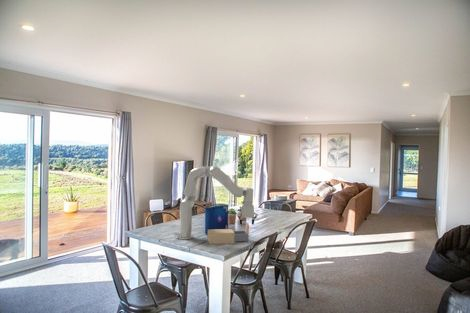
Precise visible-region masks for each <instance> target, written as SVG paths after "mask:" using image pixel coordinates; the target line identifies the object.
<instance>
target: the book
mask: <svg viewBox="0 0 470 313" xmlns="http://www.w3.org/2000/svg"><path fill="white" fill-rule="evenodd" d="M211 229H229V204H226V203H216V204H211V205H206V206H204V234H206V235H207V236H208V230H211Z"/></svg>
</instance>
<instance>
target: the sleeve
mask: <svg viewBox="0 0 470 313" xmlns="http://www.w3.org/2000/svg"><path fill="white" fill-rule="evenodd" d="M234 231H235V230H233V229H232V228H228V229H211V230H208V235H207V242H208V244H210V245H211V244H234V243H235V241H234V236H235V233H234Z"/></svg>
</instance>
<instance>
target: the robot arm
mask: <svg viewBox="0 0 470 313" xmlns="http://www.w3.org/2000/svg"><path fill="white" fill-rule="evenodd" d="M205 177H212V178H213V179H215V180H216V181H218V183H220V184H221V185H222V186H223V187H224V188H225V189H227V191H228V192H229V193H231V194H232V195H233V196H234V197H235V198H242V197H243V201H241V204H242V206H241V211H240V212H238V213H237V214H236V216H237V218H238V219H239V224H240V225H241V226H243V218H245V219H250V218H251V225H253V226H254V224H255V219H256V218H257V217H258V216H259V215H258V213H256V212H255V205H253V204H254V203H253V202H254V189H253V188H251V187H243V186H239V185H237V184H236V183H235V182H234V181H233V180H232V178H231V176H229V175H227V174H226V172H224V171H223V170H221V168H220V167H219V166H218V165H211V166H199V167H195V168H193V169H191V170H190V171H189V173H188V175H187V178H186V182H185V186H184V189H183V195H184V198H183V199H182V200H181V202H180V203H179V232H178V231H177V232H173V235H174V236H177V238H178V239H181V240H190V239H193V238H194V234H192V227H193V226H192V224H193V220H192V219H193V209H192V208H193V207H194V205H195V202H196V199H197V193H198V188H197V184H198V180H199V178H205Z"/></svg>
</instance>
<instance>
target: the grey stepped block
mask: <svg viewBox="0 0 470 313" xmlns="http://www.w3.org/2000/svg"><path fill="white" fill-rule="evenodd" d="M233 231H234V233H235V236H234V242H249V238H250V237H249V234H250V223H248V222H245V230H233Z"/></svg>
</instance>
